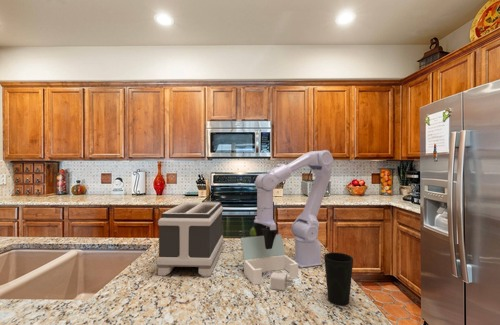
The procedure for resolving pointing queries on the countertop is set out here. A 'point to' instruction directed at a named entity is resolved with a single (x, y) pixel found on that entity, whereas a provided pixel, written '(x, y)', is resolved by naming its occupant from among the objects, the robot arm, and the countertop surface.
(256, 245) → the cover
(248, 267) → the c-shaped bracket
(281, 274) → the usb wall charger
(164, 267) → the toaster
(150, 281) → the countertop surface
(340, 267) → the cup
